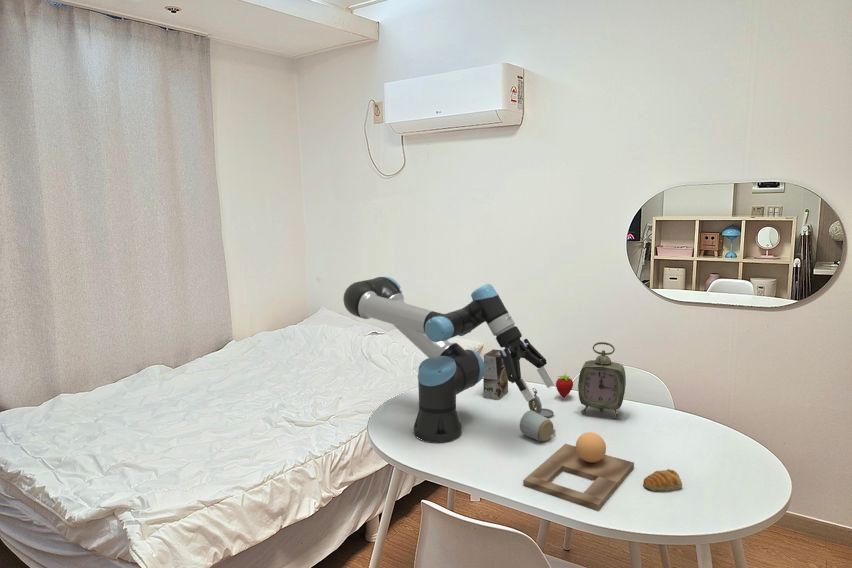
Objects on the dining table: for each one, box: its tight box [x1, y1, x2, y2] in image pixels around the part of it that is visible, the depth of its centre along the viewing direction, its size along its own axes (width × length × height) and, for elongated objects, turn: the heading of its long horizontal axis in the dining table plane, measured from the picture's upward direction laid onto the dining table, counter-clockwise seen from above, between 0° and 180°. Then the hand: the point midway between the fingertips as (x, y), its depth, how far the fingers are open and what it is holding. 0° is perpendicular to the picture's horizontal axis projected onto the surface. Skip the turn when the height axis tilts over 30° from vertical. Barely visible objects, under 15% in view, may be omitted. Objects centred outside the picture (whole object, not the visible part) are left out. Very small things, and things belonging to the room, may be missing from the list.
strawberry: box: [555, 372, 574, 399], centre depth 209 cm, size 6×8×10 cm
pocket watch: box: [527, 388, 554, 419], centre depth 194 cm, size 8×8×10 cm
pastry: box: [642, 468, 683, 492], centre depth 149 cm, size 9×7×4 cm
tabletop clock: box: [577, 341, 627, 420], centre depth 193 cm, size 14×9×25 cm, turn 67°
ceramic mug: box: [519, 410, 557, 443], centre depth 178 cm, size 11×8×8 cm
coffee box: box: [482, 348, 509, 400], centre depth 213 cm, size 9×6×16 cm
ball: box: [575, 431, 607, 463], centre depth 159 cm, size 8×8×8 cm
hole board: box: [522, 443, 635, 511], centre depth 154 cm, size 20×26×2 cm
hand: (541, 392), depth 173 cm, fingers open, 13 cm apart
